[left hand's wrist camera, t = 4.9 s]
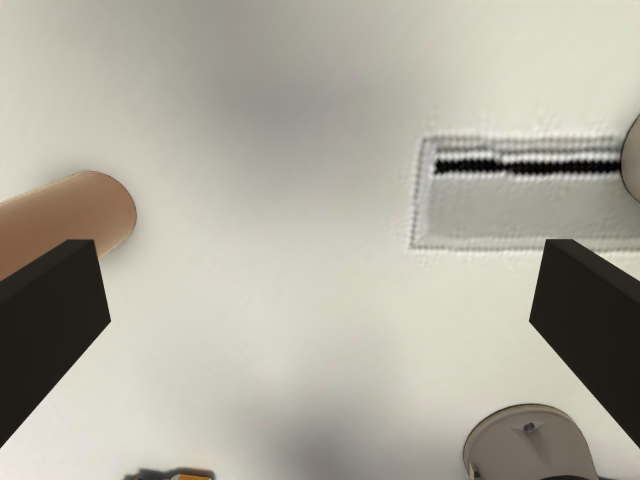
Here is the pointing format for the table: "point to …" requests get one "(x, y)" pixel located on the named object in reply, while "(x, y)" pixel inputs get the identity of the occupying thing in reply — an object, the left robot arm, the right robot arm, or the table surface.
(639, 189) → the bust sculpture
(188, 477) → the spray gun
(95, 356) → the table surface
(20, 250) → the bottle
